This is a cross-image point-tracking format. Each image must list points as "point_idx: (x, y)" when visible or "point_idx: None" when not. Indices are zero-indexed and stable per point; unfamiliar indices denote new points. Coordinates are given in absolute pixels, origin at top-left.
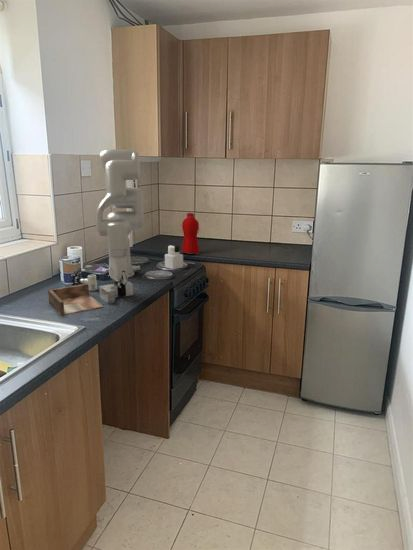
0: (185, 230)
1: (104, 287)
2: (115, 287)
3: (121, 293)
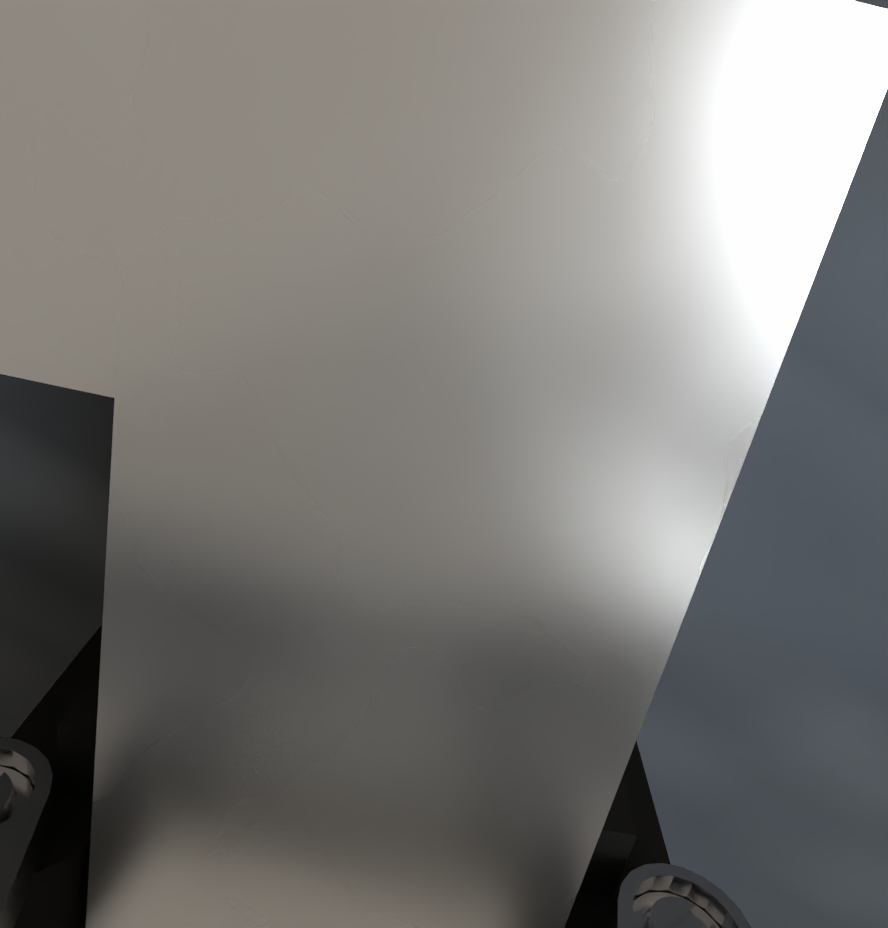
0: None
1: (320, 113)
2: (124, 662)
3: (98, 643)
